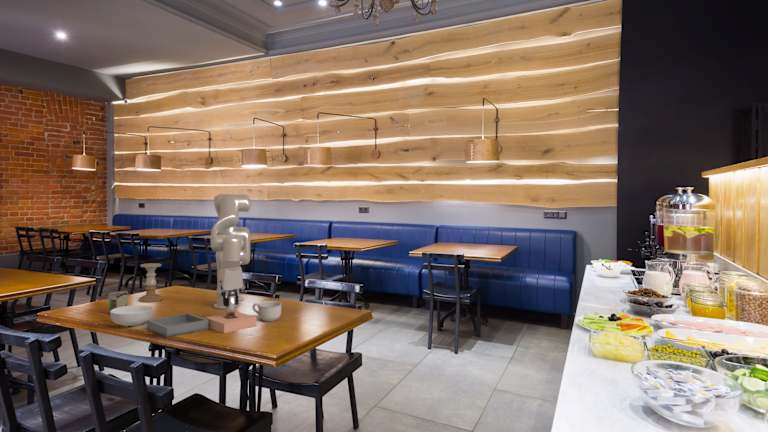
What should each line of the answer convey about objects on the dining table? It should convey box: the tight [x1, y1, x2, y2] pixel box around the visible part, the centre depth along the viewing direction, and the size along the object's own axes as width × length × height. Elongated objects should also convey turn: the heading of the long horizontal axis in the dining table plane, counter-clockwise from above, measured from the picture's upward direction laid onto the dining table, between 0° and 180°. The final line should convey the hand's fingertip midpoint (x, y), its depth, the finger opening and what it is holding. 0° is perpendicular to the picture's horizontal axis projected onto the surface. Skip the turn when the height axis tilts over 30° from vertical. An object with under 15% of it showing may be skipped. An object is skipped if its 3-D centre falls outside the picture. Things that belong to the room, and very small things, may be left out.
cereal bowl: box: [109, 304, 154, 328], centre depth 201 cm, size 17×17×7 cm
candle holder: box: [138, 262, 164, 303], centre depth 251 cm, size 12×12×20 cm
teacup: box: [251, 300, 282, 322], centre depth 214 cm, size 14×11×8 cm
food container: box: [107, 290, 129, 312], centre depth 220 cm, size 12×6×10 cm, turn 5°
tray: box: [146, 312, 209, 339], centre depth 195 cm, size 18×18×4 cm
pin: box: [225, 290, 237, 317], centre depth 201 cm, size 4×4×11 cm
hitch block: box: [204, 310, 258, 334], centre depth 201 cm, size 16×16×4 cm
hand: (230, 304), depth 201 cm, fingers closed on pin, 4 cm apart
